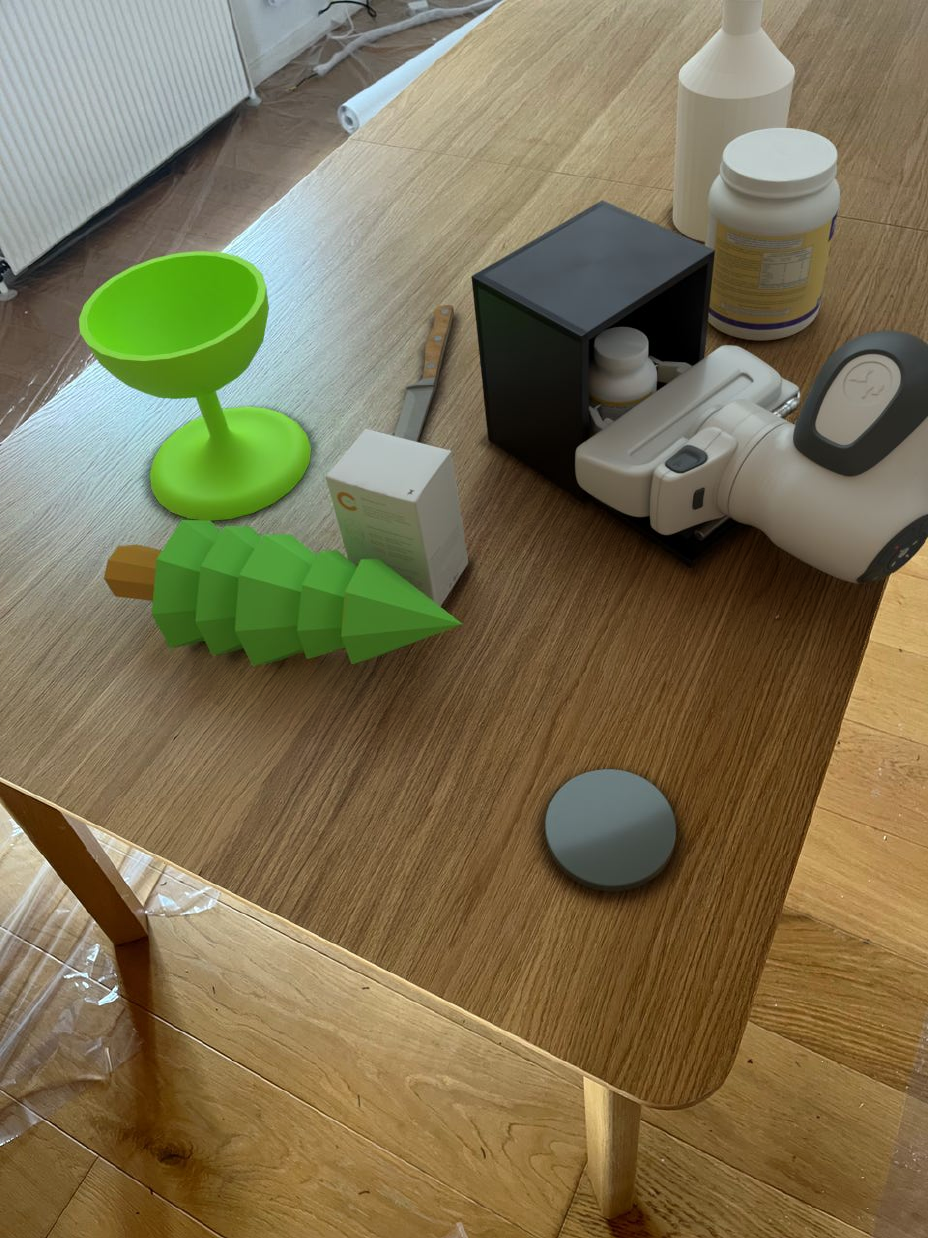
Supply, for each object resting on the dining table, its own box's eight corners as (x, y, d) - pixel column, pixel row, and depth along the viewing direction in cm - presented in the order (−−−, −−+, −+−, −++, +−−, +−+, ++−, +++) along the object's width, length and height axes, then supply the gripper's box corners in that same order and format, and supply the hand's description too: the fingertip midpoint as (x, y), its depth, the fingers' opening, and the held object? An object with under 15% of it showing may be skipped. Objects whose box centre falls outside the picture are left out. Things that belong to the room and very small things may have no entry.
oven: (803, 478, 91) (839, 304, 78) (686, 572, 86) (703, 403, 72) (601, 364, 104) (602, 199, 91) (488, 440, 99) (471, 275, 85)
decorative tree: (105, 482, 81) (461, 528, 73) (176, 537, 92) (494, 582, 83) (58, 617, 79) (423, 681, 70) (138, 657, 89) (463, 717, 80)
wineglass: (264, 534, 93) (207, 373, 80) (118, 503, 98) (40, 346, 84) (337, 423, 103) (298, 261, 89) (200, 399, 107) (142, 242, 93)
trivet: (656, 765, 74) (657, 758, 73) (691, 879, 68) (692, 873, 68) (534, 787, 74) (533, 780, 73) (559, 903, 68) (558, 896, 68)
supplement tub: (839, 329, 104) (874, 168, 91) (726, 357, 103) (745, 198, 90) (786, 268, 112) (811, 111, 99) (680, 293, 111) (692, 138, 98)
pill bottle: (614, 414, 99) (616, 310, 90) (667, 442, 96) (675, 337, 87) (569, 449, 97) (567, 345, 88) (622, 479, 94) (625, 375, 85)
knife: (426, 304, 112) (453, 304, 111) (427, 313, 113) (454, 313, 112) (371, 507, 93) (403, 507, 93) (373, 515, 94) (405, 516, 94)
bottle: (765, 248, 115) (800, 4, 96) (660, 239, 118) (673, 2, 99) (781, 194, 122) (815, -44, 102) (681, 187, 125) (696, -45, 106)
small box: (470, 563, 89) (454, 449, 79) (436, 616, 85) (415, 503, 75) (389, 539, 92) (364, 425, 82) (353, 588, 88) (322, 476, 78)
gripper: (819, 365, 86) (691, 303, 93) (653, 490, 78) (529, 412, 86) (807, 424, 91) (686, 361, 98) (650, 547, 83) (532, 468, 91)
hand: (611, 385), depth 92 cm, fingers closed on pill bottle, 6 cm apart
